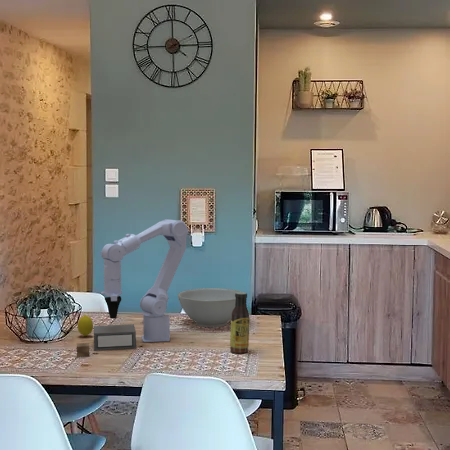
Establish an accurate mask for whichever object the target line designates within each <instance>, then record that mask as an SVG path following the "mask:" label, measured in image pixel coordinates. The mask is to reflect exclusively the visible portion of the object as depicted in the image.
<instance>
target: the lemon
mask: <svg viewBox="0 0 450 450" xmlns="http://www.w3.org/2000/svg"><path fill="white" fill-rule="evenodd" d="M77 330H78V332H79V334H81V335H82V336H84V337H87V336H88V335H90V334H92V332H93V331H94V323H93V319H92V318H91V317H90V316H88V315H86V314H84V315H83V316H81V317H80V318H79V319H78V321H77Z"/></svg>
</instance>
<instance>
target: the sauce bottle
mask: <svg viewBox="0 0 450 450" xmlns="http://www.w3.org/2000/svg"><path fill="white" fill-rule="evenodd" d="M235 297H236V301H235V308H234V309H233V311H232V315H231V316H232V318H231V320H230V338H229V339H230V340H229V346H230V347H229V349H230V352H232V353H234V354H244V353H247V352H248V351H249V345H250V343H249V342H250V320H251V319H250V313H249V310H248V306H247V305H248V304H247V298H248V293H247V292H245V291H244V292H243V291H241V292H236V293H235Z"/></svg>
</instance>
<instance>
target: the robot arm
mask: <svg viewBox="0 0 450 450" xmlns="http://www.w3.org/2000/svg"><path fill="white" fill-rule="evenodd" d="M188 233H189V229H188V227H187V224H186V223H185V222H184V221H183V220H182V219H181V220H180V219H179V220H175V219H170V218H165V219H163V220H160V221H158V222H157V223H155V224H153V225H152V226H150V227H148V228H146V229H145V230H143V231H141V232H140V233H137V234H134V233H126V234H125V235H124V237H122V238H121V239H118V240H116V239H115V240H113V243H107V244H105V245H104V246H103V247H102V249H101V251H100V255H101V258H102V259H103V276H104V277H103V282H104V283H103V284H104V285H103V286H104V289H103V290H104V291H101V292H100V295H105V296H106V297H104V301H105V304H106V306H107V310H108V314H109V315H108V316H109V318H110V319H117V317H118V310H119V307H120V303H121V302H122V296H121V295H122V294H123V292H122V263H121V262H122V260H123V258H124V256H126V255H128V254H131V253H132V252H134V251H136V250H138V249H139V248H140V247H141V244H143V243H145V242H147V241H149V240H151V239H154V238H156V237H159V236H163V237H164V239H165V240H166V241H167V242H168V245H169V249H168V252H167V253H166V256H165V258H164V261H163V263H162V265H161V268H160V269H159V271H158V274H157V277H156V278H155V281H154V282H153V285H152V287H150V288H149V289H147V291H146V293H145V294H144V295H143V296H141V299H140V301H139V307H140V309H141V310H142V316H143V317H142V321H143V323H142V325H143V329H142V330H143V334H142V335H141V339H142V342H143V343H156V342H157V343H158V342H160V343H161V342H170V341H171V339H170V338H171V337H170V335H171V331H170V327H171V326H170V325H171V322H170V316H169V314H165V313H166V312H167V309H168V301H169V299H170V298H169V295H168V290H169V288H170V286H171V283H172V281H173V278H174V277H175V276H176V275H175V274H176V272H177V270H178V267H179V265H180V263H181V260H183V256H184V254H185V252H186V249H187V236H188Z"/></svg>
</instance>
